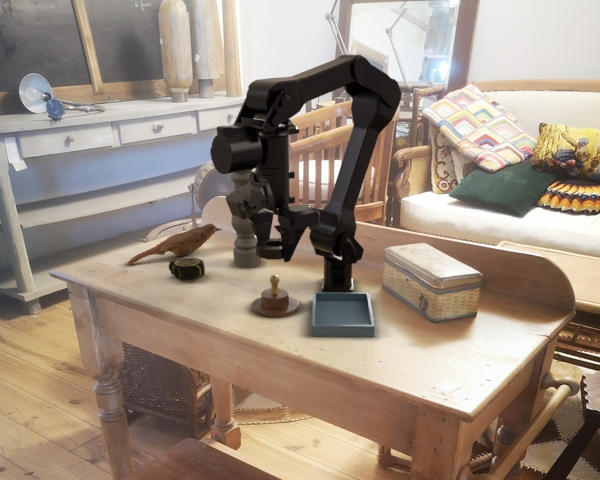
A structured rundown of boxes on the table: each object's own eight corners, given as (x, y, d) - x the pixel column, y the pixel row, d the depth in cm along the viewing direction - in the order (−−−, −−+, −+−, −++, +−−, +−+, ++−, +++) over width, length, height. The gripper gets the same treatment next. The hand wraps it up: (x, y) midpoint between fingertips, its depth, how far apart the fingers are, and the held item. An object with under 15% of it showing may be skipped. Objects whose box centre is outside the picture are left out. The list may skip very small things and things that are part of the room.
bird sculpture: (126, 271, 137) (119, 251, 134) (217, 234, 148) (213, 214, 144) (138, 280, 133) (131, 259, 130) (231, 241, 143) (227, 221, 140)
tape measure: (200, 271, 130) (198, 254, 128) (209, 281, 125) (207, 263, 123) (169, 275, 128) (167, 258, 126) (177, 286, 123) (175, 268, 121)
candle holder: (257, 268, 131) (251, 147, 118) (230, 267, 132) (221, 146, 119) (264, 259, 136) (259, 142, 123) (238, 258, 137) (231, 141, 124)
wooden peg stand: (254, 298, 117) (252, 266, 113) (299, 298, 116) (299, 267, 113) (249, 317, 109) (247, 284, 106) (298, 318, 109) (297, 284, 105)
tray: (313, 301, 115) (313, 292, 114) (368, 302, 115) (369, 292, 114) (311, 336, 102) (311, 325, 101) (374, 336, 102) (375, 326, 101)
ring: (258, 247, 110) (258, 238, 109) (294, 247, 110) (294, 238, 109) (254, 259, 104) (254, 249, 103) (292, 259, 104) (292, 249, 103)
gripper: (201, 163, 101) (210, 252, 109) (264, 181, 89) (268, 281, 97) (256, 155, 107) (259, 241, 115) (322, 171, 94) (321, 266, 103)
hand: (275, 256), depth 107 cm, fingers closed on ring, 7 cm apart
